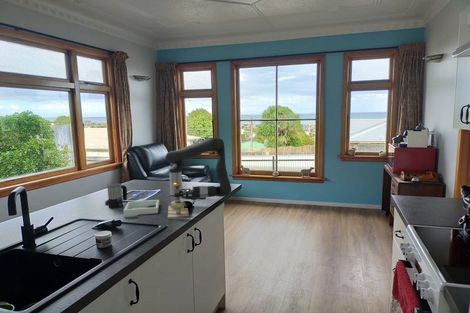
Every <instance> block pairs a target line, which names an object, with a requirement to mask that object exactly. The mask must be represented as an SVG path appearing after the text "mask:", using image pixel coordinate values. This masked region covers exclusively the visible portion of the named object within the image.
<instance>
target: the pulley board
mask: <svg viewBox="0 0 470 313" xmlns="http://www.w3.org/2000/svg"><path fill="white" fill-rule="evenodd" d="M185 204H186V203H185V201H184V200H181V199H180V200H177V201H175V200H172V201H171V202H170V205H168V207H167V208H168V210H167V220H177V218H179V219H189V218H190V217H189V216H190V214H189V209H188V208H184V206H185Z"/></svg>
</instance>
